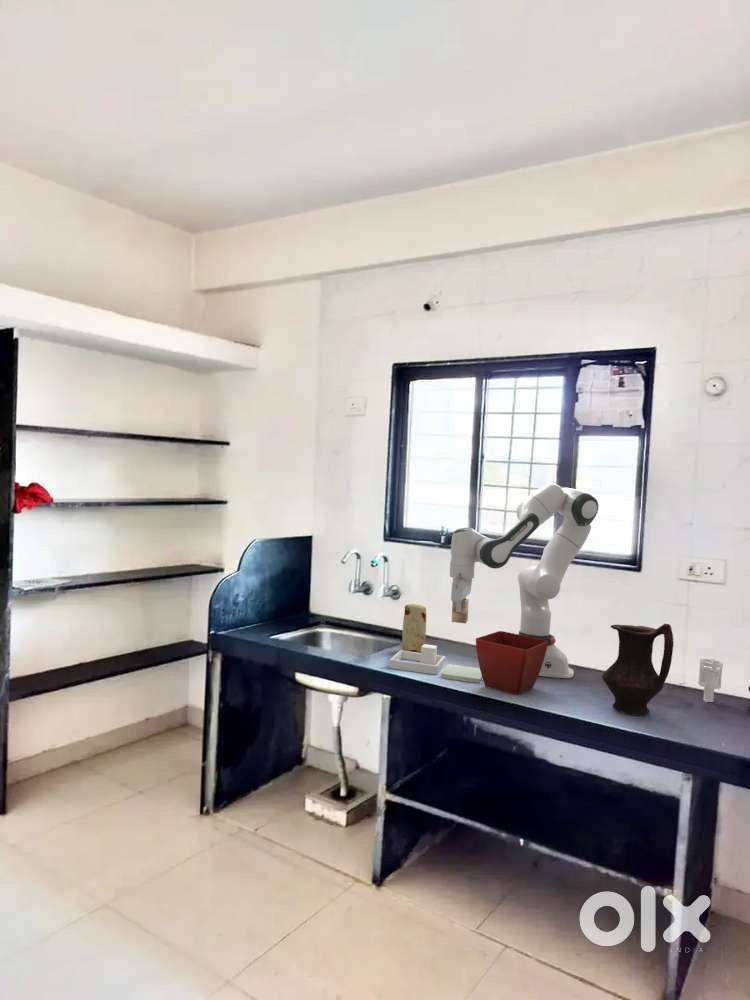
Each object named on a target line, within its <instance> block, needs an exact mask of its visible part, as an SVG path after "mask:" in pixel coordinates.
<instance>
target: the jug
mask: <svg viewBox="0 0 750 1000" xmlns="http://www.w3.org/2000/svg"><path fill="white" fill-rule="evenodd" d="M610 628H611V629H613V630H616V631H617V633H618V634H617V635H618V652H617V654H618V655H617V658H616V659H615V661H614V663H612V664H611V665H610V666H609V667H608V668H607V669H606V670H605V671H603V673H602V675H601V678H602V681H603V682H604V684H606V687H607V688H608V689H609V690H610V692H611V693H612V696H613V697H614V702H613V703H612V708H613V709H615V710H616V711H618V712H620V713H623V714H626V715H630V716H631V715H634V716H647V715H649V713H650V709H649V708H648V704H649V703H650V701H651V700H652V699H654V698H655V696H657V695H658V694H659V693H660V692H661V691H662V690H663V688H664V684H665V682H666V680H667V678H668V676H669V672H670V669H671V665H672V658H673V651H674V636H673V635H674V634H673V630H672V626H671V624H669V623H663V624H662V625H660V626H659V627H658V628H654V627H650V626H644V625H632V624H629V625H628V624H612V625H610ZM661 635H663V638H664V639H663V640H664V643H663V655H662V658H661V659H662V660H661V665H660V671H659V674H658V673H657V671H656V669H655V667H654V664H653V658H652V657H653V649H654V648H653V647H654V642H655V639H656V638H657V637H659V636H661Z"/></svg>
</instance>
